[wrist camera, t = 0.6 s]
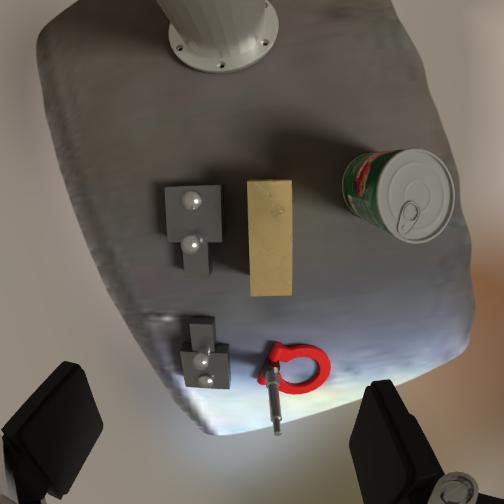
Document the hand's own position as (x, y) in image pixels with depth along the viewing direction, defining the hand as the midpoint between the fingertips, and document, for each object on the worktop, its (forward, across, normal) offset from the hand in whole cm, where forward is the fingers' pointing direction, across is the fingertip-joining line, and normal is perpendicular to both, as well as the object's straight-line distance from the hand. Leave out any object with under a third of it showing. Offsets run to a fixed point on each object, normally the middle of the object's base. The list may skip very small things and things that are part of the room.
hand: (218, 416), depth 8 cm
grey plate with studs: (+26, +6, +7) cm, 28 cm away
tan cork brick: (+26, -2, -2) cm, 27 cm away
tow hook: (+27, -6, +17) cm, 33 cm away
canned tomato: (+26, -14, -7) cm, 31 cm away
